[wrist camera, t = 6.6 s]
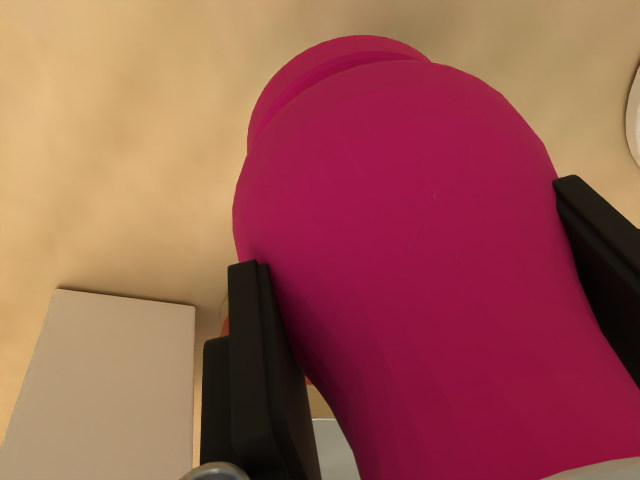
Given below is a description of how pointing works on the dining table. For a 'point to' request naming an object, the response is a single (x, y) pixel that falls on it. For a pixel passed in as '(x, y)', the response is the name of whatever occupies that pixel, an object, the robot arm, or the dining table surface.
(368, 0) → the dining table surface
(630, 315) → the robot arm
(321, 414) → the sauce tin
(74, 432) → the milk carton
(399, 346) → the pepper mill
